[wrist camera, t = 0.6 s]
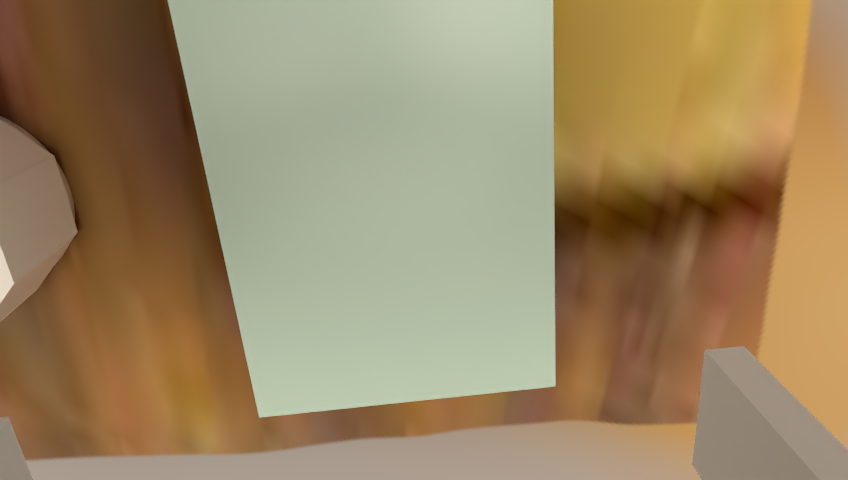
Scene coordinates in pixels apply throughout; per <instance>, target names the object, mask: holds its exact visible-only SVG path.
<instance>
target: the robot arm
mask: <svg viewBox="0 0 848 480" xmlns="http://www.w3.org/2000/svg"><path fill="white" fill-rule="evenodd" d="M693 466H694V468H695V469H696V471H697V472H698V474H699V475H700V477H701V478H702V480H848V450H847V448H846V447H845V446H844V445H843V444H841V442H840V441H838V440H837V438H835V436H834V435H833V434H832V433H831V432H830V431H828V429H826V427H825V426H824V425H823V424H822V423H821V422H819V421H818V420H817V418H815V416H813V415H812V414H811V413H810V412H809V411H808V410H807V409H806V408H805V407H804V406H803V405H802V404H801V403H800V402H799V401H798V400H797V399H796V398H795V397H794V396H793V395H792V394H791V393H790V392H789V391H788V390H787V389H786V388H785V387H784V386H783V385H782V384H781V383H780V382H779V381H778V380H777V379H776V378H775V377H774V376H773V375H772V374H771V373H770V372H769V371H768V370H767V369H766V368H765V367H764V366H763V365H762V364H761V363H760V362H759V361H758V360H757V359H756V358H755V357H754V356H753V355H752V354H751V353H750V352H749V351H748V350H747V349H746V348H745V347H744V346H742V347H732V348H721V349H711V350H705V353H704V362H703V371H702V380H701V390H700V399H699V408H698V418H697V427H696V436H695V445H694V455H693ZM0 480H33V479H32V477H31V474H30V471H29V469H28V466H27V464H26V461H25V459H24V456H23V453H22V451H21V448H20V446H19V443H18V440H17V438H16V435H15V433H14V430H13V427H12V425H11V422H10V420H9V417H0Z"/></svg>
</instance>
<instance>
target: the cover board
mask: <svg viewBox="0 0 848 480" xmlns="http://www.w3.org/2000/svg"><path fill="white" fill-rule="evenodd" d="M168 4H169V9H170V13H171V18H172V22H173V27H174V32H175V36H176V41H177V45H178V50H179V54H180V59H181V63H182V68H183V73H184V77H185V82H186V86H187V91H188V95H189V100H190V104H191V109H192V114H193V118H194V123H195V127H196V132H197V136H198V141H199V145H200V150H201V155H202V159H203V164H204V168H205V173H206V177H207V182H208V186H209V191H210V196H211V200H212V205H213V209H214V214H215V218H216V223H217V227H218V232H219V236H220V241H221V246H222V250H223V255H224V259H225V264H226V268H227V273H228V277H229V282H230V287H231V291H232V296H233V300H234V305H235V309H236V314H237V318H238V323H239V328H240V332H241V337H242V341H243V346H244V350H245V355H246V359H247V364H248V369H249V373H250V378H251V382H252V387H253V391H254V396H255V400H256V405H257V410H258V414H259V418H260V417H269V416H279V415H288V414H298V413H307V412H317V411H326V410H336V409H345V408H355V407H364V406H374V405H383V404H393V403H402V402H412V401H421V400H431V399H440V398H450V397H459V396H469V395H478V394H488V393H497V392H507V391H516V390H526V389H535V388H545V387H554V386H555V228H554V53H553V0H168Z"/></svg>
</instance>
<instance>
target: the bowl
mask: <svg viewBox="0 0 848 480" xmlns="http://www.w3.org/2000/svg"><path fill="white" fill-rule="evenodd" d="M77 233H78V231H77V228H76V225H75V208H74V201H73V197H72V192H71V189H70V187H69V184H68V181H67V179H66V177H65V175H64V173H63V171H62V169H61V168H60V166H59V165H58V163H57V162H56V160H55V156H54V155H52V154H51V153H49V152H48V150H47V149H46V148H45V147H44V146H43V145H42V144H41V143H40V142H39V141H38V140H37V139H36V138H35V137H34V136H32V135H31V134H30V133H28V132H27V131H26V130H24V129H23V128H22V127H20V126H18V125H17V124H15V123H13V122H12V121H10V120H8V119H6V118H4V117H2V116H0V321H2V320H3V319H4V318H5V317H6V316H7V315H8V314H10V313H11V312H12V311H13V310H14V309H15V308H16V307H18V306H19V305H20V304H21V303H22V302H23V301H24V300H26V299H27V298H28V297H29V296H30V295H31V294H32V293H34V292H35V291H36V290H37V289H38V288H39V287H40V285H41V284H42V282H43V281H44V279H45V278H46V277H47V275H48V274H49V272H50V271H51V269H52V268H53V267H54V266H55V265H56V264H57V263H58V261H59V260H60V259H61V258H62V257H63V255H64V253H65V252H66V250H67V248H68V247H69V244H70V242H71V241H72V240H73V238H74V237H75V235H76V234H77Z"/></svg>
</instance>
